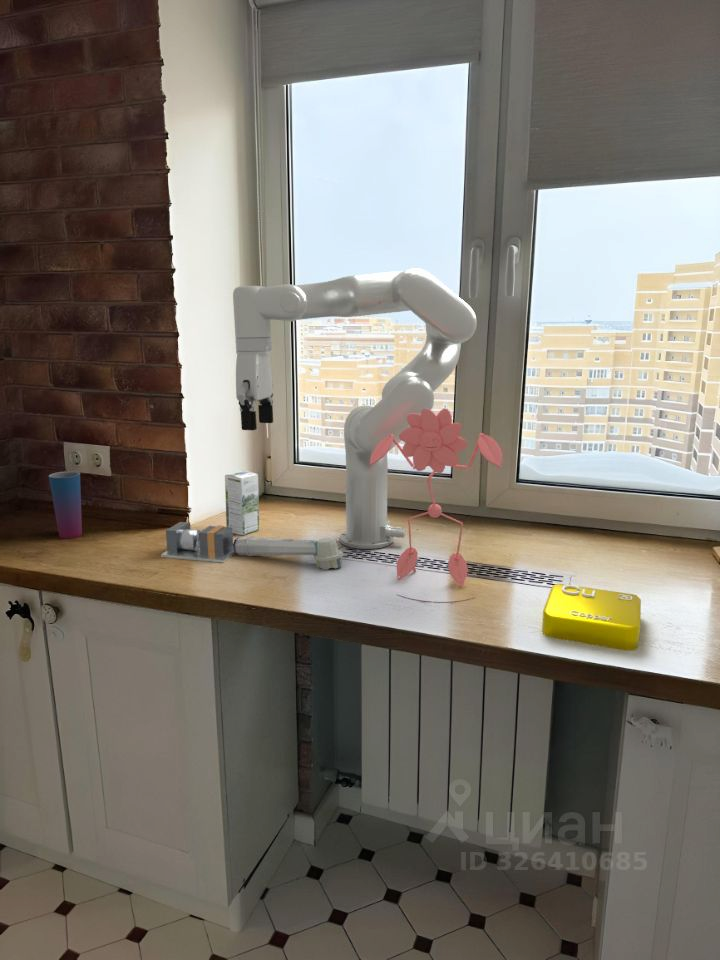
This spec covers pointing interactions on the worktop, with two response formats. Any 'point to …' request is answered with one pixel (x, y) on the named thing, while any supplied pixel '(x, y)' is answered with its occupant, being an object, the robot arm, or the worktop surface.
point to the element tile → (593, 616)
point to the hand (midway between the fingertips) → (258, 426)
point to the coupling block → (216, 541)
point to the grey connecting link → (292, 549)
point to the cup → (67, 502)
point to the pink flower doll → (436, 448)
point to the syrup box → (242, 502)
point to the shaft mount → (187, 544)
